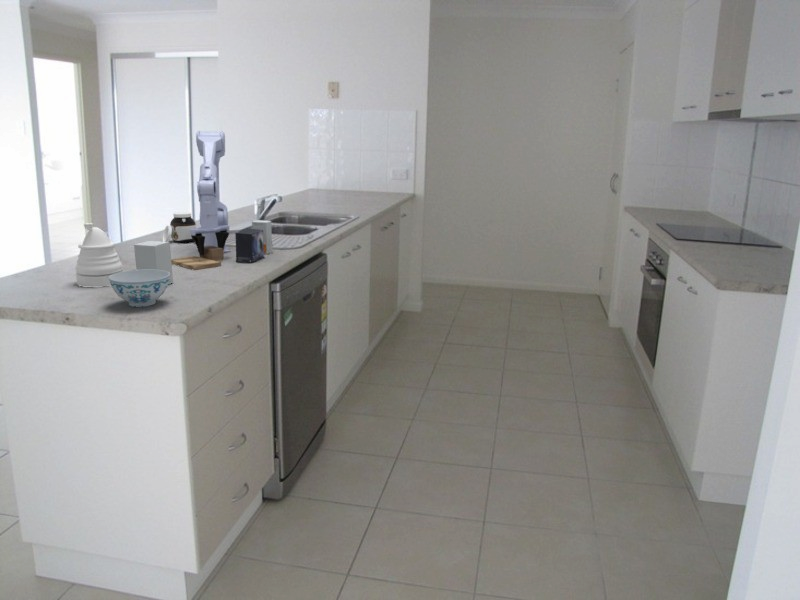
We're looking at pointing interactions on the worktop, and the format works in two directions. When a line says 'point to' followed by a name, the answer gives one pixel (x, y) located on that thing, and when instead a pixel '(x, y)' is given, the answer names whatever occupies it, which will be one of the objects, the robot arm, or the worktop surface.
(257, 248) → the small box
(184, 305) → the worktop surface
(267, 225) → the skincare box
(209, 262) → the board
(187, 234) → the spread jar
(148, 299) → the chinaware
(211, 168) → the robot arm
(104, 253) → the honey pot
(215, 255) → the block
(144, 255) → the supplement box
